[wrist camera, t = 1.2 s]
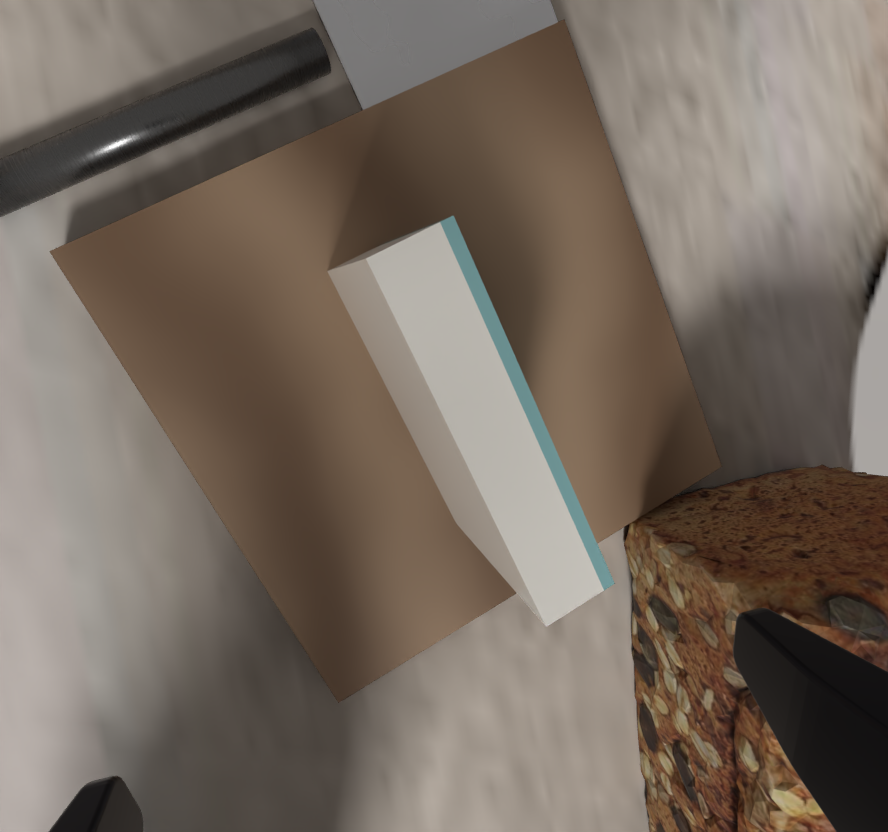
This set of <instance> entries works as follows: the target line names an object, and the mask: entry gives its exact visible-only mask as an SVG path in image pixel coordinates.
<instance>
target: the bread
mask: <svg viewBox="0 0 888 832" xmlns="http://www.w3.org/2000/svg"><path fill="white" fill-rule="evenodd" d="M624 546H625V550H626V554H627V558H628V562H629V566H630V570H631V573H632V577H633V583H632V588H633V607H634V611H633V612H632V644H633V646H634V650H633V652H632V657H633V660H634V663H635V682H636V691H635V698H636V700H637V713H638V740H639V749H640V759H641V772H642V775H643V777H644V779H645V781H646V793H647V797H646V808H647V811H648V814H649V817H650V818H649V823H648V824H649V830H650V832H836V831H835V829H834V828H833V826H832V825H831V823H830V822H829V820H828V819H827V817H826V816H825V814H824V813H823V812H822V810H821V809H820V807H819V806H818V804H817V803H816V801H815V800H814V798H813V797H812V795H811V794H810V792H809V791H808V789H807V788H806V787H805V785H804V784H803V782H802V781H801V779H800V778H799V776H798V774H797V773H796V771H795V770H794V768H793V767H792V765H791V764H790V762H789V760H788V758H787V757H786V755H785V753H784V752H783V750H782V748H781V746H780V744H779V743H778V741H777V739H776V737H775V735H774V734H773V732H772V730H771V728H770V726H769V724H768V723H767V721H766V719H765V717H764V715H763V714H762V712H761V710H760V708H759V706H758V704H757V703H756V701H755V699H754V697H753V695H752V694H751V692H750V690H749V688H748V686H747V684H746V683H745V681H744V679H743V677H742V675H741V674H740V672H739V670H738V668H737V666H736V663H735V661H734V657H733V643H734V635H735V626H736V619H737V617H738V615H739V614H740V613H742V612H745V611H749V610H753V609H757V608H767V609H770V610H772V611H774V612H776V613H778V614H780V615H782V616H783V617H785V618H787V619H789V620H791V621H793V622H795V623H797V624H799V625H800V626H802V627H804V628H806V629H808V630H810V631H812V632H814V633H816V634H817V635H819V636H821V637H823V638H825V639H827V640H829V641H831V642H833V643H834V644H836V645H838V646H840V647H842V648H844V649H846V650H848V651H850V652H852V653H853V654H855V655H857V656H859V657H861V658H863V659H865V660H867V661H869V662H870V663H872V664H874V665H876V666H878V667H880V668H882V669H884V670H886V671H887V672H888V476H879V475H871V474H867V473H865V472H862V473H861V472H851V471H849V470H847V469H845V468H842V467H837V468H828V467H826V466H824V465H820V466H817V467H814V468H796V469H790V470H784V471H779V472H772V473H767V474H764V475H762V476H759V477H757V478H749V479H742V480H739V481H736V482H733V483H730V484H726V485H723V486H719V487H715V488H701V489H699V490H697V491H695V492H692V493H688V494H684V495H681V496H677V497H673V498H670V499H669V500H667V501H665V502H664V503H662V504H660V505H659V506H657V507H656V508H654V509H652V510H651V511H649V512H647V513H646V514H644V515H643V516H641V517H639V518H638V519H636V520H635V521H633V522H631V523H630V525H629V531H628V535H627V538H626V541H625V543H624Z"/></svg>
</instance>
